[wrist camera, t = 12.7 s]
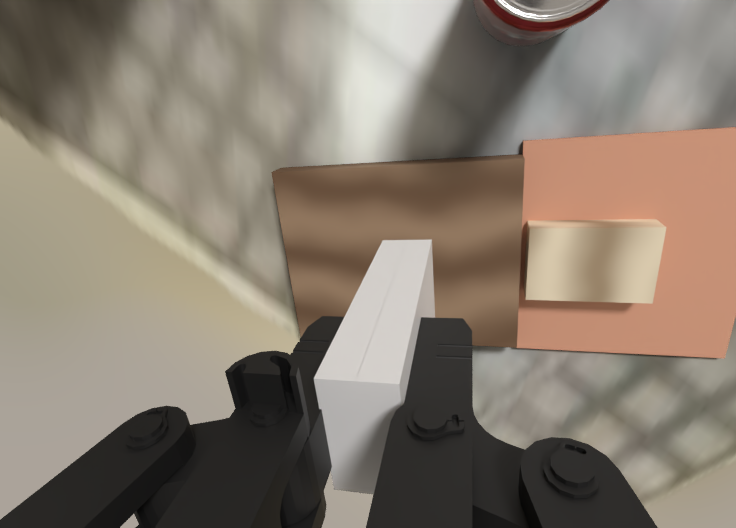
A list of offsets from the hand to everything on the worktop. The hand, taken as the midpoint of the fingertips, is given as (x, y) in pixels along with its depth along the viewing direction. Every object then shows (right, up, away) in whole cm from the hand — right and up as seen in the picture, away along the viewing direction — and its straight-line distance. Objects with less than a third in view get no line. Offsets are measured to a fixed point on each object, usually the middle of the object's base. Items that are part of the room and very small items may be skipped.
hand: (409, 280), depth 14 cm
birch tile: (+16, +1, +21) cm, 26 cm away
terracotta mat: (+19, +1, +20) cm, 28 cm away
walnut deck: (+2, +1, +25) cm, 25 cm away
